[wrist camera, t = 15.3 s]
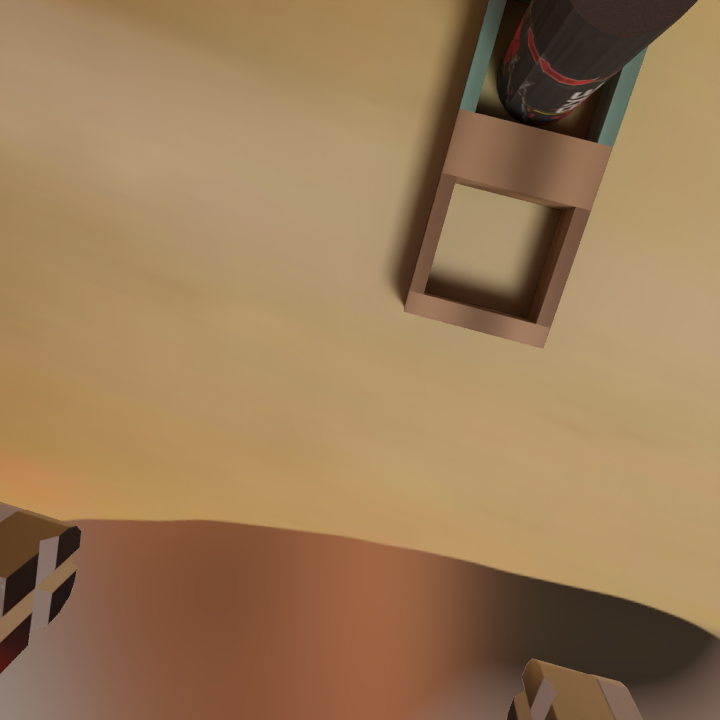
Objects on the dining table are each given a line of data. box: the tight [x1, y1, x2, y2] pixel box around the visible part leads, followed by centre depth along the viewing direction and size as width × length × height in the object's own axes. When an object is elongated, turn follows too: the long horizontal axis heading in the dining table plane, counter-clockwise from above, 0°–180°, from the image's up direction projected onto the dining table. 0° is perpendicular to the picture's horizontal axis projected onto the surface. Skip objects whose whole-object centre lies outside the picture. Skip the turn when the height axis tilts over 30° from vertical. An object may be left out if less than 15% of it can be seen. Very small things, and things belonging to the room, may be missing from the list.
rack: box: [404, 0, 648, 348], centre depth 34 cm, size 10×23×3 cm, turn 166°
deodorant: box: [497, 0, 697, 126], centre depth 27 cm, size 6×6×15 cm
